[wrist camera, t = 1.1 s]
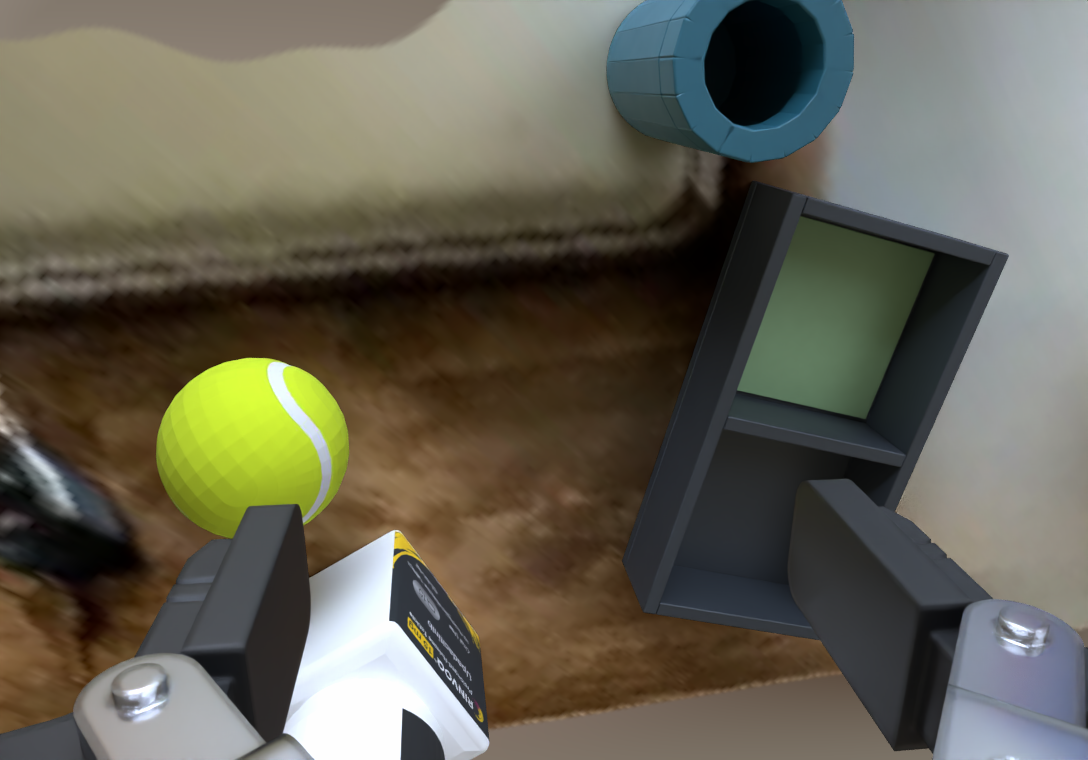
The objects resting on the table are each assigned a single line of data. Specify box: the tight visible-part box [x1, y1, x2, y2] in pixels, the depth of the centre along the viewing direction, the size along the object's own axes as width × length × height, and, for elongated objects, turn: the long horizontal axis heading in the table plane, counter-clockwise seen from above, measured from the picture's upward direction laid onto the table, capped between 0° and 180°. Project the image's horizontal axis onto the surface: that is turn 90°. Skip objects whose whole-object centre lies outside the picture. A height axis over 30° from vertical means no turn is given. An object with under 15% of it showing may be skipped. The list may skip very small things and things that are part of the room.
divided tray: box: [622, 181, 1009, 640], centre depth 35 cm, size 9×18×4 cm, turn 165°
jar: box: [607, 0, 854, 163], centre depth 27 cm, size 5×5×9 cm
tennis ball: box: [156, 358, 349, 539], centre depth 31 cm, size 7×7×7 cm
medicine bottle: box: [283, 530, 489, 760], centre depth 32 cm, size 7×7×12 cm
